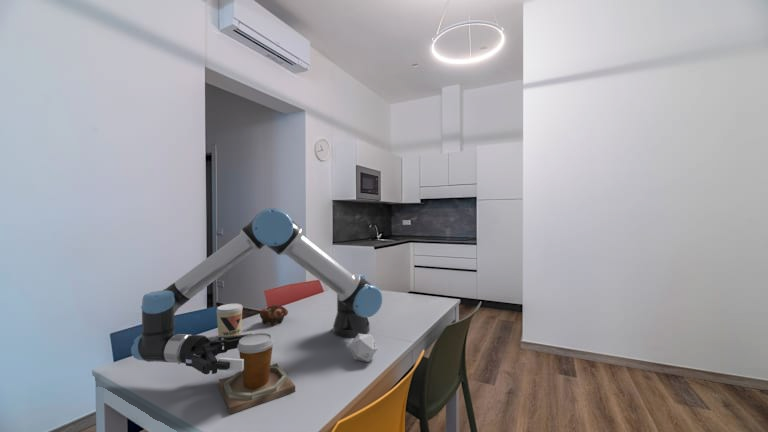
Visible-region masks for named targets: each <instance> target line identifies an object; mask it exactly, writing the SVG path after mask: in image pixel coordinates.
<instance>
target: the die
mask: <svg viewBox="0 0 768 432" xmlns="http://www.w3.org/2000/svg"><path fill="white" fill-rule="evenodd" d="M348 347H349V349H350V351H351V354H352V357H353V359H354V361H360V362H366V363H370V361H371V360H372V359H373V357H374V355H375V354H376V352H377V351H378V347H377V344H376V341H375V339H374V337H373V335H372V334H367V333H366V334H360V333H358V334H357V336H355V337H354V338H353V340H352V341H351V342H350V344H349V345H348Z"/></svg>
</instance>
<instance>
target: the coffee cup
mask: <svg viewBox="0 0 768 432" xmlns="http://www.w3.org/2000/svg"><path fill="white" fill-rule="evenodd" d="M243 309H244V307H243V305H242V304H241V303H228V304H227V303H226V304H221V305H220V306H217V308H216V310H215V311H216V321H217V335H218V338H219V337H228V336H237V335H242V334H241V332H242V321H243V320H242V319H243Z"/></svg>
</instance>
